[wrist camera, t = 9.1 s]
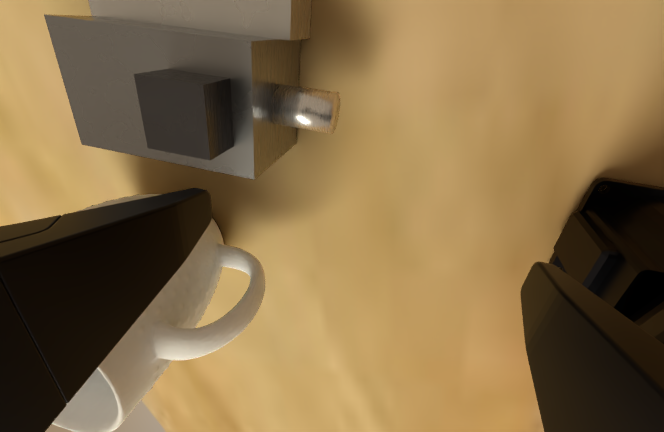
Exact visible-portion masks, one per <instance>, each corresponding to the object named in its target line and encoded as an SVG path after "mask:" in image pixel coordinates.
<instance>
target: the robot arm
mask: <svg viewBox="0 0 664 432" xmlns="http://www.w3.org/2000/svg"><path fill="white" fill-rule="evenodd" d="M603 185H607V187H606V188H605V189H604V190H602V191H598V190H599V188H600V187H601V186H603ZM211 220H212V207H211V197H210V193H209V192H208V191H207V190H203V189H199V188H191V189H187V190H182V191H177V192H172V193H167V194H162V195H157V196H152V197H147V198H142V199H137V200H132V201H127V202H123V203H118V204H113V205H108V206H103V207H98V208H93V209H88V210H83V211H78V212H73V213H68V214H64V215H62V216H61V215H58V216H53V217H48V218H43V219H38V220H33V221H28V222H23V223H17V224H12V225H6V226H0V432H45V431H46V430H47V429H48V428H49V426H50V425H51V424H52V423H53V421H54V420H55V419H56V418H57V417H58V415H59V414H60V413H61V412H62V411H63V409H64V408H65V407H66V405H67V404H66V403H69V402H70V400H71V399H72V398H73V397H74V396H75V394H76V393H77V392H78V391H79V390H80V388H81V387H82V386H83V385H84V383H85V382H86V381H87V380H88V379H89V377H90V376H91V375H92V374H93V373H94V371H95V370H96V369H97V368H98V366H99V365H100V364H101V363H102V362H103V360H104V359H105V358H106V357H107V356H108V354H109V353H110V352H111V351H112V349H113V348H114V347H115V346H116V345H117V343H118V342H119V341H120V340H121V339H122V337H123V336H124V335H125V334H126V333H127V331H128V330H129V329H130V328H131V326H132V325H133V324H134V323H135V322H136V320H137V319H138V318H139V317H140V316H141V314H142V313H143V312H144V311H145V309H146V308H147V307H148V306H149V305H150V303H151V302H152V301H153V300H154V299H155V297H156V296H157V295H158V294H159V292H160V291H161V290H162V289H163V288H164V286H165V285H166V284H167V283H168V282H169V280H170V279H171V278H172V277H173V275H174V274H175V273H176V272H177V271H178V269H179V268H180V267H181V266H182V264H183V263H184V262H185V260H186V259H187V258H188V256H189V255H190V253H191V252H192V250H193V249H194V247H195V246H196V244H197V243H198V241H199V240H200V238H201V236H202V235H203V233H204V232H205V230H206V229H207V227H208V226H209V224H210V222H211ZM554 251H555V252H554V254H553V256H552V258H551V260H550V262H549V263H544V262H536V263H534V265H533V266H532V268H531V270H530V272H529V274H528V276H527V278H526V279H525V281H524V283H523V285H522V288H521V304H522V315H523V326H524V336H525V345H526V351H527V356H528V361H529V365H530V370H531V374H532V379H533V383H534V388H535V392H536V397H537V401H538V405H539V410H540V414H541V419H542V423H543V428H544V432H664V188H662V187H657V186H651V185H645V184H639V183H633V182H627V181H621V180H616V179H610V178H599V179H597V180H595V181H593V183H592V184H591V185H590V187H589V189H588V191H587V193H586V195H585V196H584V198H583V200H582V202H581V204H580V206H579V208H578V210H577V211H575V212H574V213H572V214H571V216H570V218H569V220H568V222H567V223H566V225H565V227H564V229H563V231H562V233H561V235H560V237H559V239H558V240H557V242H556V244H555V246H554ZM558 267H561V268H558Z"/></svg>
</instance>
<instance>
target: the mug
mask: <svg viewBox="0 0 664 432" xmlns="http://www.w3.org/2000/svg"><path fill="white" fill-rule="evenodd" d="M157 195H162V194H146V195H134V196H130V197H123V198H119V199H115V200H110V201H106V202H103V203H101V204H97V205H92V206H90V207H87V208H85V209H83V210H88V209H93V208H98V207H103V206H108V205H113V204H118V203H123V202H127V201H132V200H137V199H142V198H147V197H152V196H157ZM83 210H79V211H83ZM77 212H78V211H77ZM222 267H230V268H235V269H238V270H241V271H243V272H246V273H247V274H248V275H249V276H250V284H249V287H248V289H247V291H246V293H245V294H244V296H243V297H242V299H241V300H240V301H239V302H238V304H237V305H236V306H235V307H234V308H233V309H232V310H230V311H229V312H228V313H227V314H226V315H224V316H223V317H222V318H220V319H218V320H217V321H215V322H213V323H211V324H209V325H206V326H203V327H200V328H195V327H196V325H197V324H198V322H199V321H200V320H201V318H202V316H203V315H204V312H205V310H206V309H207V306H208V305H209V303H210V301H211V298H212V296H213V294H214V293H215V289H216V287H217V283H218V281H219V278H220V274H221V271H222ZM264 292H265V275H264V270H263V267H262V265H261V263H260V262H259V261H258V259H257V258H256V257H255V256H253V255H252V254H250V253H249V252H247V251H244V250H242V249H240V248H236V247H232V246H228V245H224V243H223V238H222V235H221V232H220V230H219V227H218V226H217V224H216V222H215V221H214V220H213V218H212V220H211V222H210V224H209V226H208V227H207V229H206V230H205V232H204V233H203V235H202V236H201V238H200V240H199V241H198V243H197V244H196V246H195V247H194V249H193V250H192V252H191V253H190V255H189V256H188V258H187V259H186V260H185V262H184V263H183V264H182V266H181V267H180V268H179V269H178V271H177V272H176V273H175V274H174V275H173V277H172V278H171V279H170V280H169V282H168V283H167V284H166V285H165V286H164V288H163V289H162V290H161V291H160V292H159V294H158V295H157V296H156V297H155V299H154V300H153V301H152V302H151V303H150V305H149V306H148V307H147V308H146V309H145V311H144V312H143V313H142V314H141V316H140V317H139V318H138V319H137V320H136V322H135V323H134V324H133V325H132V326H131V328H130V329H129V330H128V331H127V333H126V334H125V335H124V336H123V337H122V339H121V340H120V341H119V342H118V343H117V345H116V346H115V347H114V348H113V349H112V351H111V352H110V353H109V354H108V356H107V357H106V358H105V359H104V360H103V362H102V363H101V364H100V365H99V366H98V368H97V369H96V370H95V371H94V373H93V374H92V375H91V376H90V377H89V379H88V380H87V381H86V382H85V383H84V385H83V386H82V387H81V388H80V390H79V391H78V392H77V393H76V394H75V396H74V397H73V398H72V399H71V400H70V402H69V403H66V404H67V405H66V407H65V408H64V409H63V411H62V412H61V413H60V414H59V415H58V417H57V418H56V419H55V420H54V421H53V423H52V424H54V425H56V426H59V427H62V428H64V429H68V430H71V431H74V432H112V431H114V430H116V428H118V427H119V426H120V425H121V424H122V423H123V421H124V420H125V419H126V418H127V417H128V415H129V414H130V413H131V412H132V410H133V409H134V408H135V407H136V406H137V404H138V403H139V402H140V401H141V399H142V398H143V397H144V396H145V394H146V393H147V392H148V391H150V390H151V389H152V387H153V385H154V383H155V382H156V381H157V380H158V379H159V377H160V376H161V375H162V374H163V372H164V371H165V370H166V369H167V368H168V366H169V364H170V363H171V362H172V361H173V360H188V359H193V358H198V357H201V356H204V355H207V354H209V353H212V352H214V351H216V350H218V349H220V348H222V347H223V346H225V345H226V344H228V343H229V342H230V341H232V340H233V339H234V338H236V337H237V336H238V335H239V334H240V333H241V332H242V331H243V330H244V329H245V328H246V327H247V326H248V325H249V323H250V322H251V321H252V319H253V318H254V316H255V315H256V313H257V311H258V309H259V307H260V305H261V303H262V300H263V296H264Z"/></svg>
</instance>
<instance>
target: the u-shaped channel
mask: <svg viewBox="0 0 664 432" xmlns="http://www.w3.org/2000/svg"><path fill="white" fill-rule="evenodd" d="M88 1H89V5H90V10H91V14H92V16H72V15H44V16H45V20H46V23H47V27H48V30H49V34H50V37H51V40H52V44H53V47H54V51H55V54H56V58H57V61H58V64H59V68H60V71H61V75H62V78H63V82H64V85H65V88H66V92H67V95H68V99H69V102H70V106H71V109H72V112H73V116H74V119H75V123H76V126H77V130H78V133H79V137H80V140H81V143H82V145H87V146H92V147H97V148H102V149H107V150H112V151H117V152H122V153H126V154H131V155H136V156H141V157H146V158H151V159H156V160H161V161H166V162H171V163H175V164H180V165H185V166H190V167H195V168H200V169H205V170H210V171H215V172H220V173H224V174H229V175H234V176H239V177H244V178H249V179H256V178H257V177H258V176H259V175H260V174H261V173H263V172H264V171H265V170H266V169H267V168H268V167H270V166H271V165H272V164H273V163H274V162H275V161H277V160H278V159H279V158H280V157H281V156H282V155H284V154H285V153H286V152H287V151H288V150H289V149H291V148H292V147H293V146H294V145H295V144H296V137H297V128H301V129H307V130H313V131H319V132H324V133H330V134H333V133H334V131H335V129H336V126H337V122H338V117H339V111H340V95H339V93H338V92H331V91H324V90H318V89H311V88H305V87H299V68H300V45H301V39H310V21H311V3H312V0H88Z"/></svg>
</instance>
